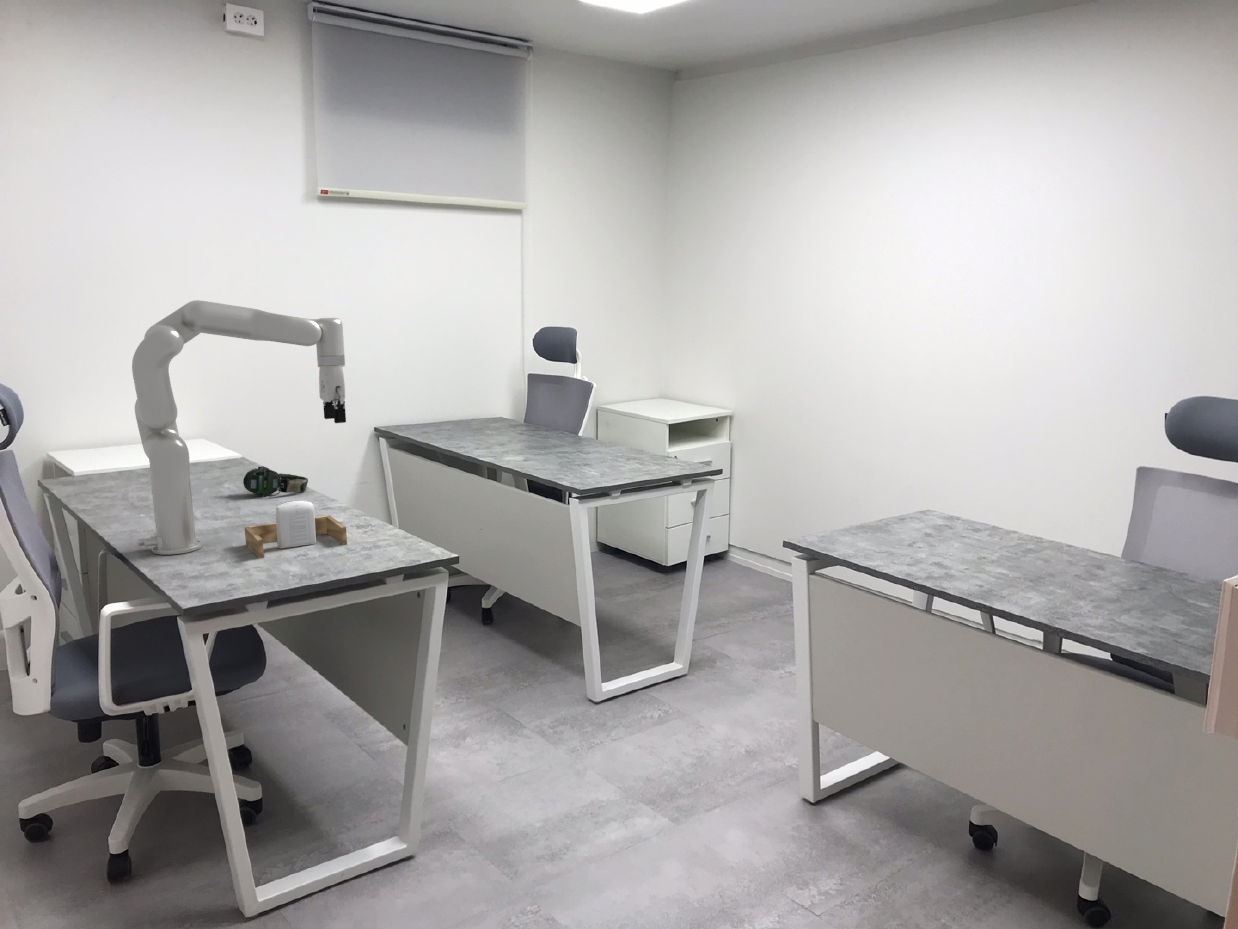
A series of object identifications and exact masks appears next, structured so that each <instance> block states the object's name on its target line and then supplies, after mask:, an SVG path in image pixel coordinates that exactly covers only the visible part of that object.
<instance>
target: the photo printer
mask: <svg viewBox="0 0 1238 929" xmlns="http://www.w3.org/2000/svg"><path fill="white" fill-rule="evenodd" d="M315 517H316V515H315V508H314V504H313V503H312V501H311V502H310V501H306V500H293V501H288V502H284V503H282V504H279V505H277V506H276V507H275V523H276V528H277V541H276V542H277V548H278V549H289V548H295V547H301V546H309V545H316V543H317V537H316V536H317V535H316V533H315Z"/></svg>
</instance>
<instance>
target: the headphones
mask: <svg viewBox="0 0 1238 929" xmlns="http://www.w3.org/2000/svg"><path fill="white" fill-rule="evenodd" d="M242 483H243V484H242V485H243V487H244V488H245V490H247V491H248V492H250V493H252V494H255V495H256V496H257V497H258V496H261V498H265V497H266V496H268V497H275V496H277V495H279V494H280V493H281V494H282V493H298V492H302V493H304V491H305V492H306V491H307V488H308V483H309V479H308V478H307V477H305V476H300V475H295V474H291V473H278V472H277V471H275V470H273V469H270V468H269V467H267V466H258V467H257V468H253V469H251V470H249V471H247V472H246V474H245V475H244V478H243V482H242ZM277 491H278V492H277ZM276 492H277V493H276ZM274 493H275V494H274Z"/></svg>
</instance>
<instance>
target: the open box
mask: <svg viewBox="0 0 1238 929" xmlns="http://www.w3.org/2000/svg"><path fill="white" fill-rule="evenodd" d="M315 533H316V536H320V535H319V534H322V535H328V536H330V535H331V536H332V537H331V536H330V537H331V538H332V539H334V540H335V541H337V542H338V541H339V542H340V545H342V546H346V545H348V536H347V526H345V524H343V523H342V522H340V521H338V520H337V519H336V518H334V517H332V516H331V515H323V516H322V515H321V516H315ZM244 537H245V545H246V546H247V547H248V548H249V550H250V551H251V552H252V553H254V555H256V557H257V558H259V559H264V558H265V552H264V544H268V543H274V542H277V528H276V522H270V523H265V524H259V525H257V524H256V525H250V526H244ZM339 542H338V543H339Z"/></svg>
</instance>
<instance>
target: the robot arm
mask: <svg viewBox="0 0 1238 929" xmlns="http://www.w3.org/2000/svg"><path fill="white" fill-rule="evenodd" d="M343 326H344V325H343V321H342V320H341V319H340V318H339V317H321V318H307V317H305V318H304V317H298V316H291V315H286V314H278V313H273V312H269V311H265V310H261V309H257V308H253V307H246V306H238V305H231V304H226V303H220V302H213V301H207V300H199V299H198V300H191V301H189V302H187V303H185V304H184V305H183V306H180V307H179V308H177V309H176V310H175V311H173V312H172V313H170V314H169V315H167V316H165V317H164V318H162V319H161V320H159V321H157V322H156V323H154V324H153V325H151V326H150V327H149V328H148V329H147V330H146V331H145V333H144V337H143V338H144V339H142V341H140V343H139V344H138V346H137V348H136V349H135V350H134V354H133V357H132V361H131V371H132V372H131V373H132V378H133V383H134V389H135V395H136V398H137V399H136V401H135V403H134V414H135V415H134V416H135V420H136V424H137V428H138V432H139V438H140V440H141V441H140V442H141V444H142V449H143V451H144V454H145V455H146V457H147V459H148V461H149V472H150V473H149V475H150V487H151V495H152V503H153V504H152V505H153V513H154V515H153V516H154V523H155V530H156V531H155V532H153V535H150V537H146V538H145V537H143V538H142V537H141V538H137V545H138V547H142V546H143V547H150V546H151V548H150V549H151V552H152V553H153V554H155V555H163V556H165V555H169V556H171V555H180V554H186V553H190V552H195V551H197V550H199V549H201V548H202V547H203V541H202V539H198V538H197V537H196V527H195V519H194V518H195V516H194V507H193V506H194V505H193V495H192V489H191V488H192V487H191V486H192V485H191V478H190V477H191V474H190V473H191V472H190V453H189V447H188V446H187V443H186V442H185V440H183V438H181V436H180V433H179V430H178V425H177V417H178V406H177V404H176V401H175V397H174V396H175V395H174V392H173V388H172V384H171V379H170V373H169V370H170V369H169V368H170V364H171V361H172V360H173V359H174V358H175V357H176V356H178V355H179V354H180V353H181V352H182V350H183V348H184V345H186V343H188V342H190V341H191V340H193V339H194V338H196V337H197V336H199V335H201V334H206V335H215V336H223V337H227V338H228V337H231V338H236V339H242V340H251V341H262V342H263V341H265V342H266V341H267V342H274V343H281V344H287V345H289V344H290V345H295V346H301V347H302V346H303V347H311V346H314V345H316V357H317V358H316V360H317V368H318V369H319V372H318V374H319V375H318V380H319V382H318V386H319V398H320V400H321V401H322V404H323V405H322V406H323V418H324V419H325V420H329V419H330V420H331V419H333V422H334V424H343V423H346V422H347V416H346V415H347V414H346V404H345V403H346V402H345V400H346V387H345V386H346V385H345V384H346V383H345V377H344V369H343V367H344V368H345V367H346V360H345V359H346V358H345V345H344V343H345V342H344V327H343Z"/></svg>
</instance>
